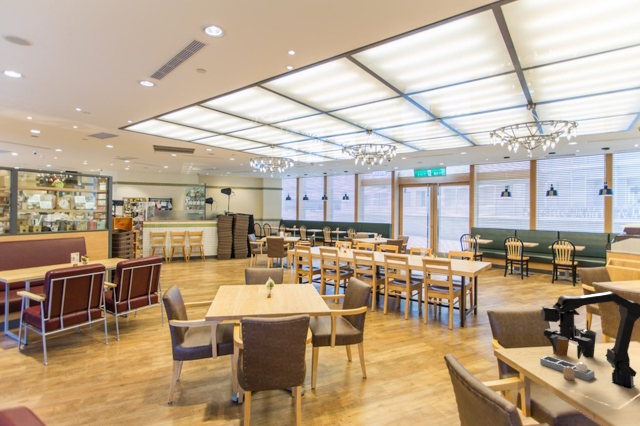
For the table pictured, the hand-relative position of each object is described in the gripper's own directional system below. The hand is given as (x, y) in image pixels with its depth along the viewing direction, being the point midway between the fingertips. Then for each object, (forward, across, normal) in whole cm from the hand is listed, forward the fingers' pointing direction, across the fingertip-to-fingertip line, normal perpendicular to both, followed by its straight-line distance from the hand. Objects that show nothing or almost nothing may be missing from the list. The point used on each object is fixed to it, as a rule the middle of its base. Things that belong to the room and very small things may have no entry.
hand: (567, 355), depth 157 cm
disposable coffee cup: (+11, +16, -29) cm, 35 cm away
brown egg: (+11, -1, +1) cm, 11 cm away
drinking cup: (+11, +7, -40) cm, 42 cm away
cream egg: (+11, -3, -8) cm, 13 cm away
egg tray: (+11, +4, -8) cm, 14 cm away
